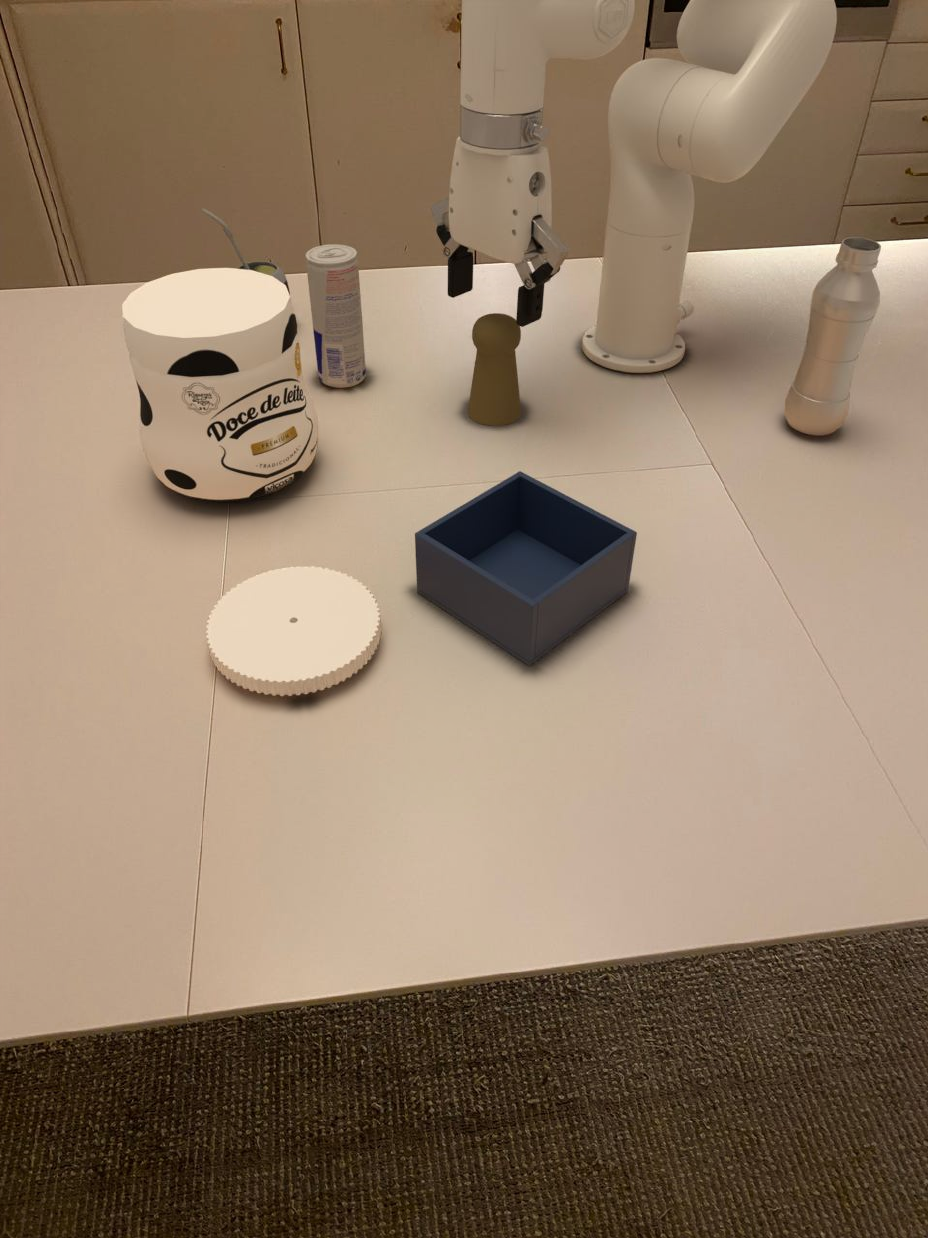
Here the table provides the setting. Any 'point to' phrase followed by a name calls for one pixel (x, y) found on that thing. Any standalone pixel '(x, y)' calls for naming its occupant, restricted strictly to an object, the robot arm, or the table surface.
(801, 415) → the plastic bottle
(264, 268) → the mate gourd
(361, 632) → the plastic lid
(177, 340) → the milk container
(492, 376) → the olive brown pawn
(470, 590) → the blue square bin
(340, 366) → the beverage can
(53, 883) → the table surface
